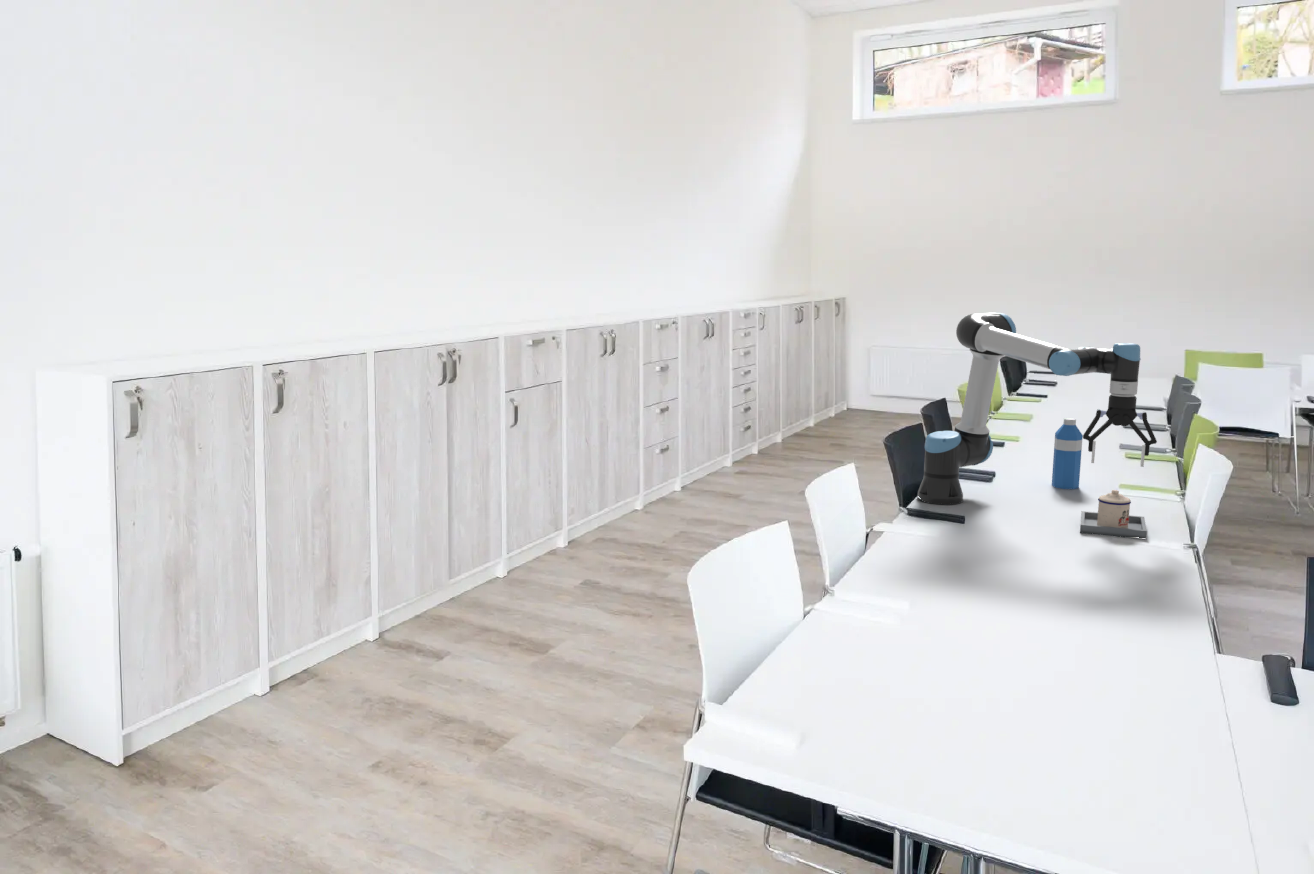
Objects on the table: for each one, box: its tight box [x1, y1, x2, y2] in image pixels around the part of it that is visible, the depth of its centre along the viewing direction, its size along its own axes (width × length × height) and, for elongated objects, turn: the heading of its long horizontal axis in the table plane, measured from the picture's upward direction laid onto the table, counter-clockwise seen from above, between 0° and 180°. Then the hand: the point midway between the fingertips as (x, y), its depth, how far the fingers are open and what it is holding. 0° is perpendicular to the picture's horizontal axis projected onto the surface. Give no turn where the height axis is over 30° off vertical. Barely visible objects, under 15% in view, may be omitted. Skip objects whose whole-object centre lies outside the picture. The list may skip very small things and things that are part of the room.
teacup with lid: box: [1097, 489, 1132, 528], centre depth 300 cm, size 12×9×12 cm
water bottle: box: [1051, 417, 1084, 490], centre depth 356 cm, size 9×9×25 cm
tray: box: [1079, 510, 1148, 539], centre depth 301 cm, size 18×18×3 cm
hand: (1117, 464), depth 298 cm, fingers open, 13 cm apart
